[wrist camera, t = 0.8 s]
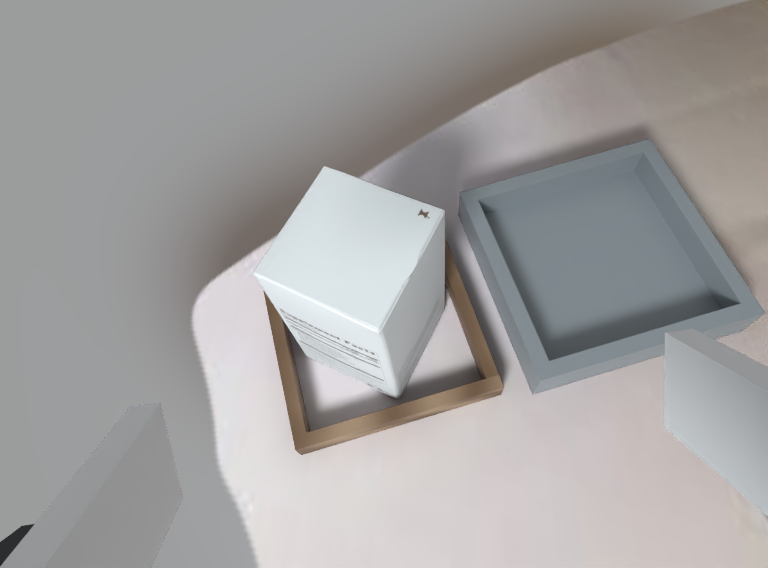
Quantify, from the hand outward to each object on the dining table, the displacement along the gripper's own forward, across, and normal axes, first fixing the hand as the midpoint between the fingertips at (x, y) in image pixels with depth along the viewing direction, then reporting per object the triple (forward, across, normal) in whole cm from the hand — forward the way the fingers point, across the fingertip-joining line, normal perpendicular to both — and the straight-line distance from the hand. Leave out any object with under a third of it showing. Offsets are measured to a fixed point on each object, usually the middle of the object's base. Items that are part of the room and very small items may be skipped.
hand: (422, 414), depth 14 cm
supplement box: (+31, 0, -8) cm, 32 cm away
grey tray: (+32, +18, -6) cm, 37 cm away
